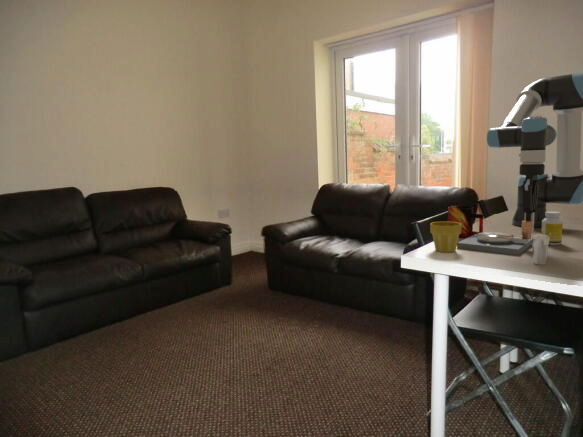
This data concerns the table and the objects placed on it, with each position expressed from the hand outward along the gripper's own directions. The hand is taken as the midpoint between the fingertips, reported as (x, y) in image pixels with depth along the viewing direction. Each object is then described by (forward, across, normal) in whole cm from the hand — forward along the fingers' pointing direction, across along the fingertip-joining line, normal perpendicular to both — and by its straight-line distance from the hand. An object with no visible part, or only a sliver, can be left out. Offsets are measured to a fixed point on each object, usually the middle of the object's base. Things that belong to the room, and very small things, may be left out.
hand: (528, 230), depth 149 cm
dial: (+4, +4, -7) cm, 9 cm away
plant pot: (+6, +20, -21) cm, 30 cm away
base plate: (+6, +4, -10) cm, 12 cm away
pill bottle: (+6, -12, +5) cm, 15 cm away
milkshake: (+6, +21, +9) cm, 24 cm away
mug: (+6, -10, -25) cm, 28 cm away
